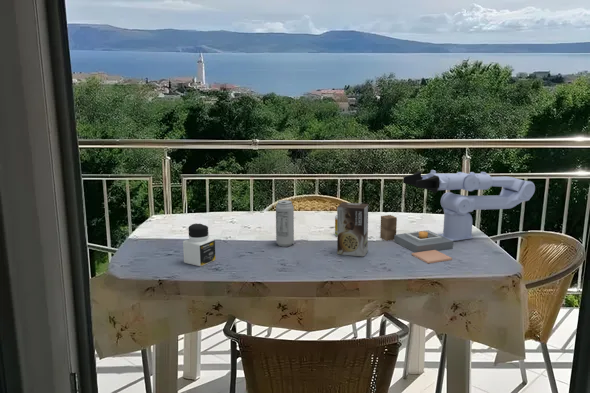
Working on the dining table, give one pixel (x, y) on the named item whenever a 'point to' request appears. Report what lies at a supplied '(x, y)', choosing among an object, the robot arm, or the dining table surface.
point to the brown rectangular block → (388, 227)
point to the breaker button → (423, 234)
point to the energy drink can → (284, 223)
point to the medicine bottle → (199, 246)
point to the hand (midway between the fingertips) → (410, 181)
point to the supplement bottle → (336, 225)
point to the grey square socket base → (423, 241)
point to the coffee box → (352, 229)
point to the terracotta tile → (431, 256)
